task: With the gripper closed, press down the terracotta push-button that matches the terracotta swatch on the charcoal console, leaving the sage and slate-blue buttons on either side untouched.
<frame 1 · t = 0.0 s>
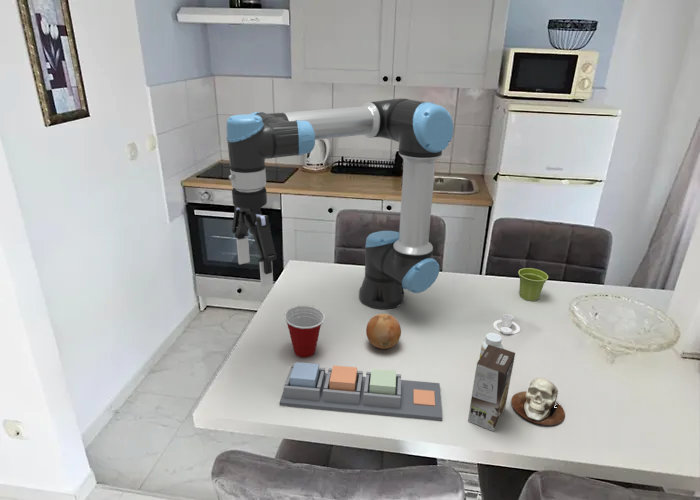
hand: (255, 273, 116), 28 cm above the table, fingers open, 13 cm apart
skull: (537, 409, 115), on the table
onion: (382, 346, 138), on the table
coffee box: (486, 415, 113), on the table
button terracotta: (343, 379, 117), point 4 cm above the table, slide at 0.0 cm
button slate: (304, 375, 118), point 5 cm above the table, slide at 0.0 cm
plant pot: (528, 297, 165), on the table
plastic cup: (305, 352, 134), on the table
console: (361, 395, 118), on the table
supplement bottle: (488, 367, 129), on the table
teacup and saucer: (496, 329, 147), on the table
button sage: (383, 382, 116), point 4 cm above the table, slide at 0.0 cm
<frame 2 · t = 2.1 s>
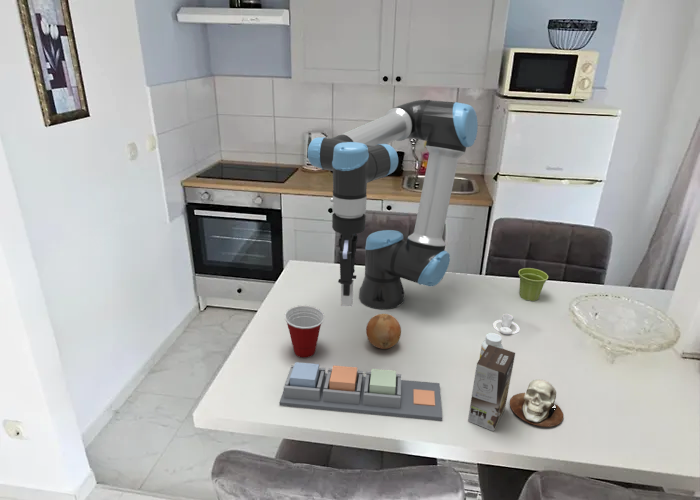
hand: (346, 304, 118), 20 cm above the table, fingers closed
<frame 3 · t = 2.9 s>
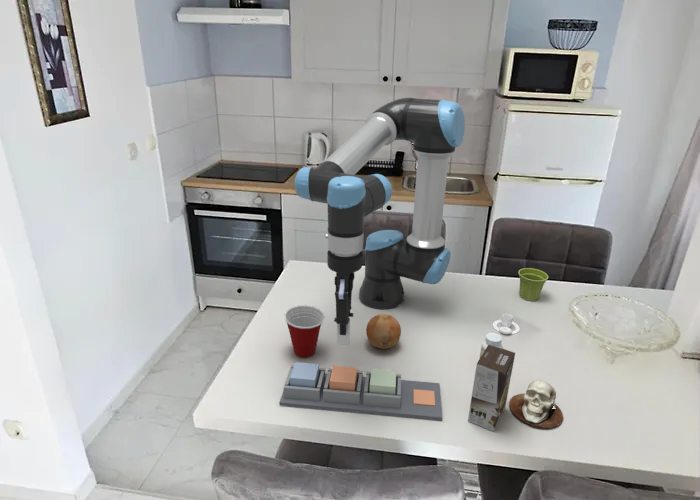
hand: (343, 343, 112), 15 cm above the table, fingers closed
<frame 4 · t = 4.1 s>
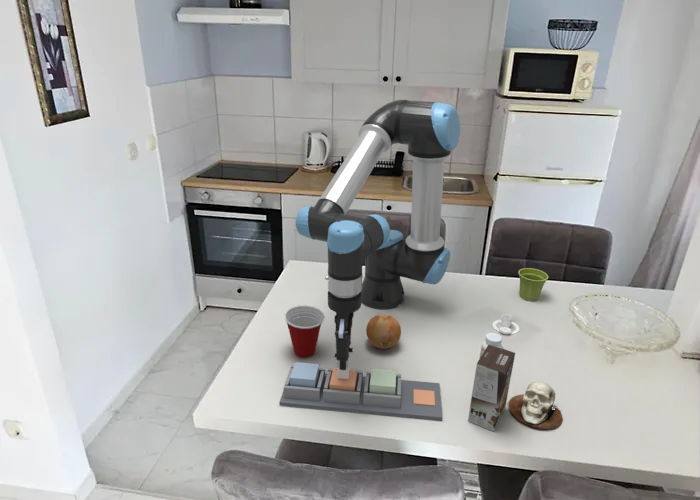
hand: (343, 376, 117), 5 cm above the table, fingers closed
button terracotta: (343, 382, 117), point 4 cm above the table, slide at 1.0 cm, touching gripper
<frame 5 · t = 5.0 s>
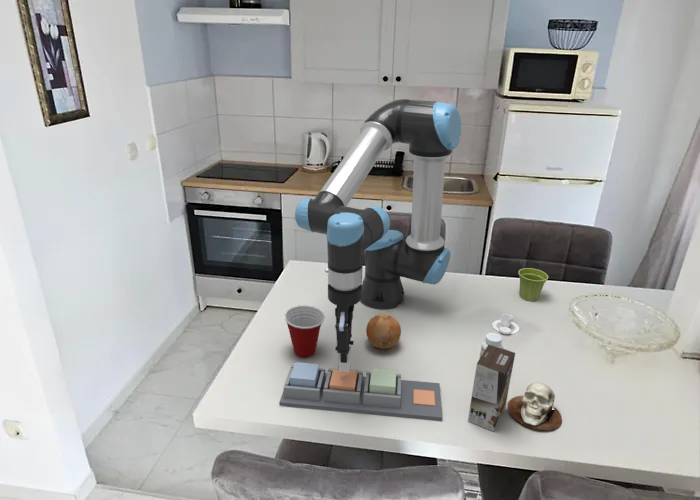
hand: (344, 369, 116), 7 cm above the table, fingers closed
button terracotta: (343, 383, 117), point 3 cm above the table, slide at 1.1 cm
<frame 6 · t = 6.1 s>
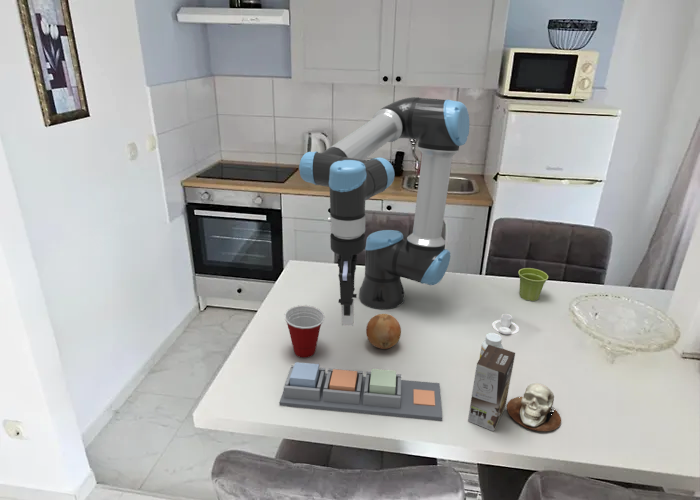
hand: (347, 323, 116), 18 cm above the table, fingers closed
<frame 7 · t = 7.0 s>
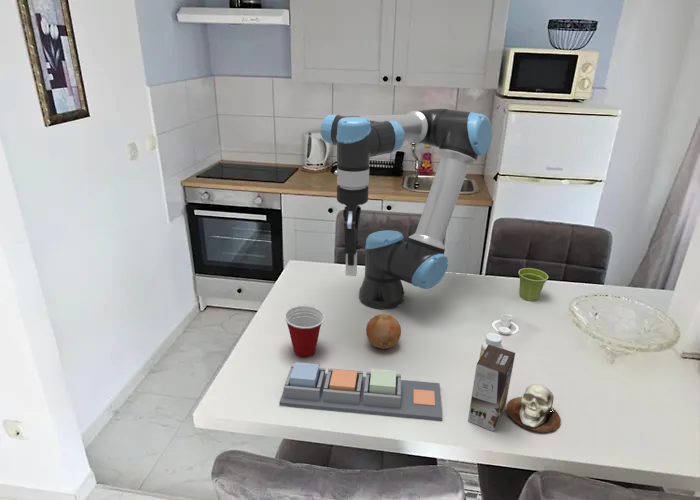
hand: (351, 274, 124), 24 cm above the table, fingers closed
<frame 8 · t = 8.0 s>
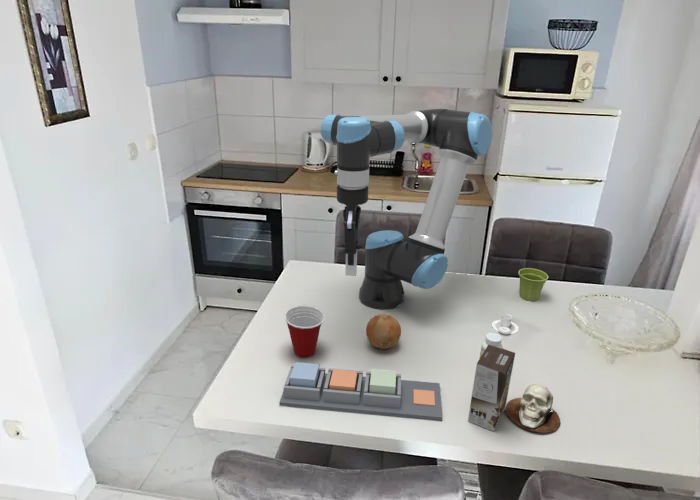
hand: (351, 274, 124), 24 cm above the table, fingers closed
at the end: button terracotta slide at 1.1 cm; button sage slide at 0.0 cm; button slate slide at 0.0 cm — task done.
